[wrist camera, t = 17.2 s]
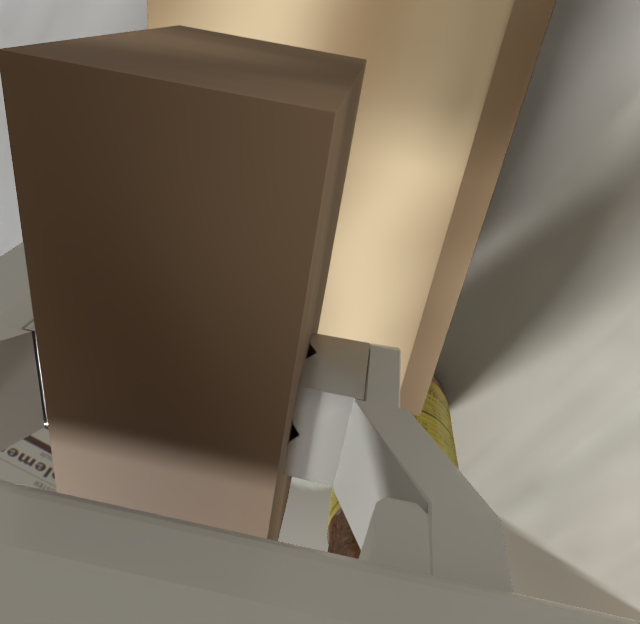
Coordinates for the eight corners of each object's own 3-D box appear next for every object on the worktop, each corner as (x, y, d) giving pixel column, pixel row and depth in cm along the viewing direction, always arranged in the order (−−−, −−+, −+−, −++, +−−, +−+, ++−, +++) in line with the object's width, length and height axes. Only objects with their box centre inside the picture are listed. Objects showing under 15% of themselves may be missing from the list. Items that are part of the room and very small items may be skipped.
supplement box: (97, 185, 29) (-206, 373, 15) (247, 277, 31) (102, 528, 16) (46, 310, 34) (-221, 545, 20) (178, 385, 36) (19, 653, 21)
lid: (583, -103, 14) (591, -109, 13) (420, 402, 22) (419, 416, 22) (159, -171, 15) (144, -180, 14) (159, 338, 23) (149, 349, 23)
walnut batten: (367, 59, 9) (335, 112, 5) (288, 495, 14) (242, 693, 10) (179, 25, 9) (-3, 48, 5) (170, 470, 14) (79, 656, 10)
